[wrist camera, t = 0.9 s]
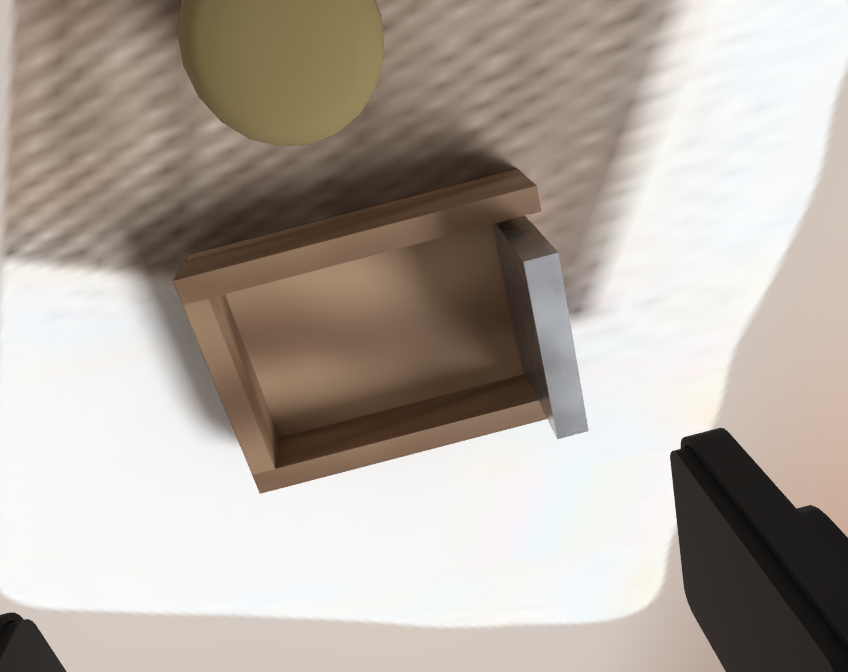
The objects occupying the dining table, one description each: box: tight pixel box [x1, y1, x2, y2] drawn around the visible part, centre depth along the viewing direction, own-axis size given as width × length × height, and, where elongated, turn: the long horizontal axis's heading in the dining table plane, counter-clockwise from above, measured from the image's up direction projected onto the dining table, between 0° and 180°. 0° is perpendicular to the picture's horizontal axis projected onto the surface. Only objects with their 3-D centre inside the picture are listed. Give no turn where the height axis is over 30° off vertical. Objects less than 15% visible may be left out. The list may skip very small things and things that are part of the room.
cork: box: [178, 0, 384, 146], centre depth 22 cm, size 6×6×11 cm
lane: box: [173, 169, 547, 494], centre depth 31 cm, size 10×14×3 cm
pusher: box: [492, 216, 588, 439], centre depth 29 cm, size 7×1×6 cm, turn 13°
